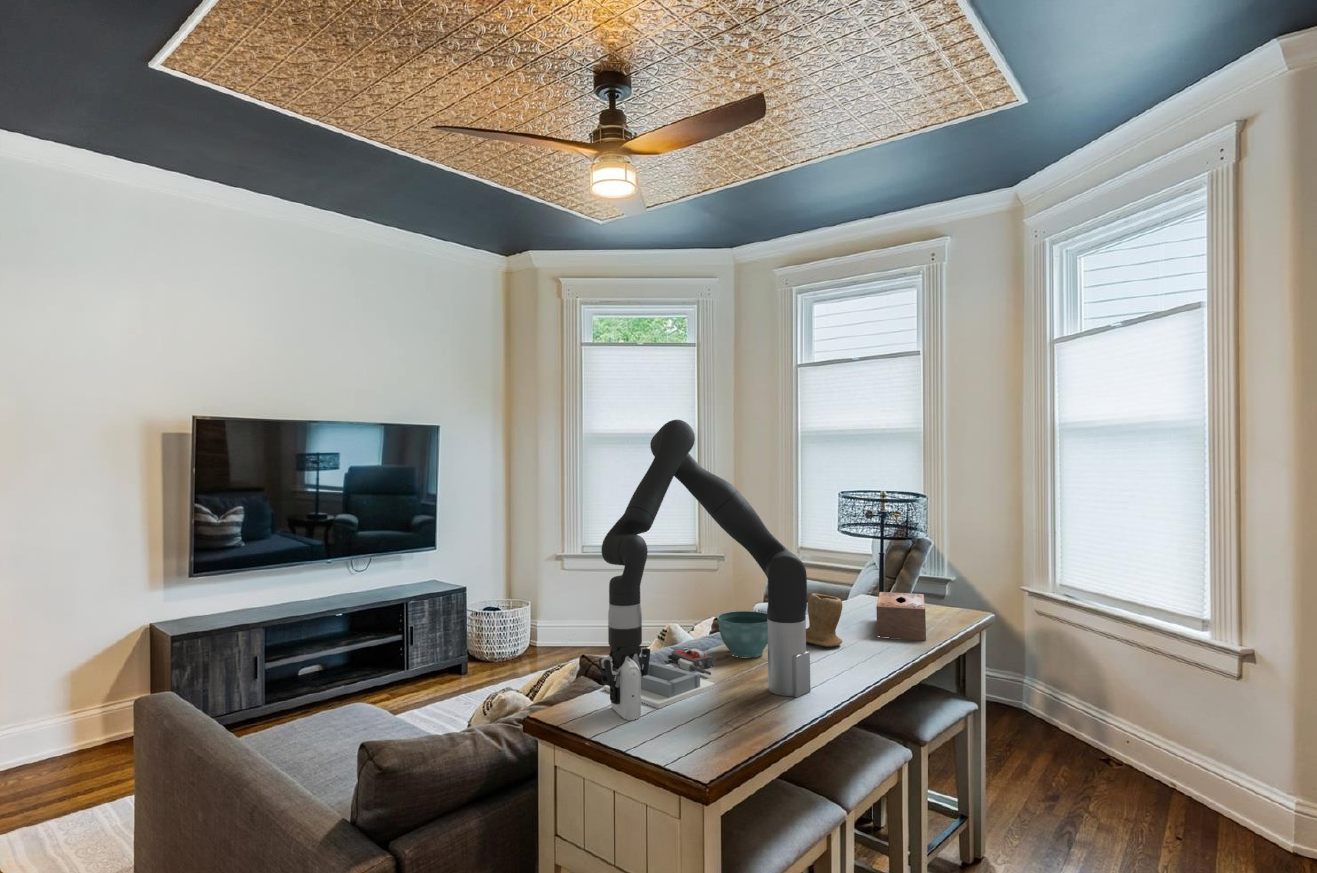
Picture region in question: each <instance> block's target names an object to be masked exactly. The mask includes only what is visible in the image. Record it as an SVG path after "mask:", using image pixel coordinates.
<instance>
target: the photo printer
mask: <svg viewBox="0 0 1317 873" xmlns="http://www.w3.org/2000/svg"><path fill="white" fill-rule="evenodd" d="M611 664H612V662H611ZM620 667H621V676H620V685H619V687H620V704H614V703H612V702H611V701H610V705H611V708H612V709H613V710H614V711H615V712H616V713H617V714H618V715H619V716H620V717H621V718H622V719H624V720H627V721H635V719H636V720H639V719H640V718H641V712H642V706H641V705H642V703H641V673H640V670H639V667H638V666H637V664H636V663H635V662H634V661H633V660H632V659H631V658H629V661H626V662H625V663H624V664H623V665H622V666H620ZM619 670H620V668H619V669H616V672H619ZM615 680H616V676H615ZM615 680H614V681H615Z"/></svg>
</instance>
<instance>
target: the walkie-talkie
mask: <svg viewBox="0 0 1317 873" xmlns="http://www.w3.org/2000/svg"><path fill="white" fill-rule="evenodd" d="M667 658H668V659H669V660H671V662H672V663H675V664H676V665H679V664H680V665H679V669H682V670H686V671H689V672H696V673H699V674H706V675H709V676H711V675H712V672H711V671H708V670H705V669H708V668H712V667H711V666H713V665H714V664H713V663H714V661H713V660H714V657H712V656H710V655H707V654H706V653H705V651H704V650H701V649H699V648H691V649H690V647H686V648H685V647H684V648H679V649H675V650H672V651H671V654H668V655H667Z"/></svg>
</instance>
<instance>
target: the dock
mask: <svg viewBox="0 0 1317 873" xmlns="http://www.w3.org/2000/svg"><path fill="white" fill-rule="evenodd" d="M643 666H644V665H643ZM643 666H642V669H643ZM714 687H715V688H716V683H714V682H712V681H708V680H704V679H701V673H698V672H694V671H687V670H684V669H682V668H678V667H673V666H670V665H667V664H662V663H659V662H655V661H653V660H651V661H650V660H649V667H648V674H647V675H646V676H643V677H642V679H641V702H643V703H642V704H644V703H645V704H644V705H647V704H648V705H647V706H650V705H651V707H653V708H657V709H661V708H664V707H667V706H669V705H672V704H674V702H675V703H677V702H680V701H682V700H685V699H688V698H691V697H694V696H696V695H699V694H702V693H704V692H708V691H710V690H713V689H715V688H714ZM712 688H713V689H712ZM602 689H603V691H605V690H606V692H608V693H610V686H608V685H603V688H602ZM666 705H667V706H666Z"/></svg>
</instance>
